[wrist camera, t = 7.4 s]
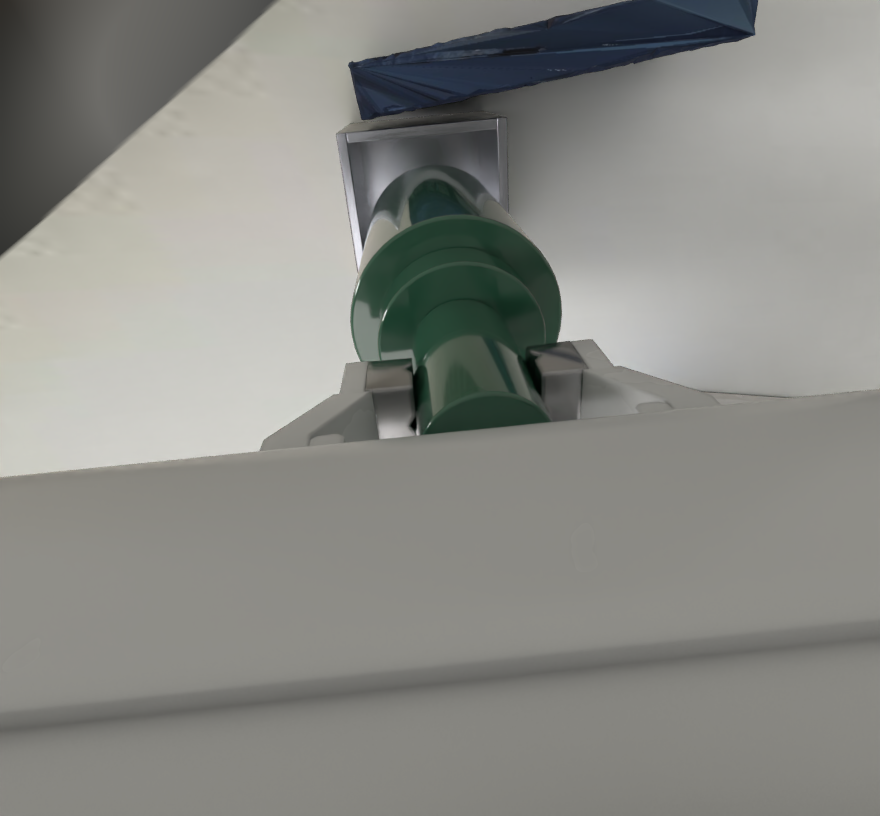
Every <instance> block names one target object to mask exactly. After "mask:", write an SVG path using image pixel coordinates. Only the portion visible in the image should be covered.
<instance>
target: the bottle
mask: <svg viewBox="0 0 880 816" xmlns="http://www.w3.org/2000/svg"><path fill="white" fill-rule="evenodd" d="M561 318H562V305H561V296H560V291H559V286H558V283H557V280H556V277H555V275H554V273H553V271H552V269H551V267H550V265H549V263H548V261H547V260H546V258H545V257H544V256H543V254H542V253H541V251H540V250H539V249H538V248H537V247H536V245H535V244H534V243H533V242H532V241H531V240H530V238H529V237H528V236H527V235H526V234H525V233H524V231H523V230H522V229H521V228H520V227H519V226H518V224H517V223H516V222H515V221H514V220H513V219H512V217H511V216H510V215H509V214H508V213H507V212H506V210H505V209H504V208H503V207H502V206H501V205H500V203H499V202H498V201H497V200H496V199H495V198H494V196H493V195H492V194H491V193H490V192H489V191H488V189H487V188H486V187H485V186H484V185H483V184H482V183H481V182H480V181H479V180H478V179H476V178H475V177H474V176H472V175H471V174H469V173H467V172H465V171H463V170H461V169H458V168H455V167H452V166H447V165H426V166H420V167H417V168H414V169H411V170H409V171H407V172H405V173H403V174H402V175H400V176H399V177H397V178H396V179H394V180H393V181H392V182H391V183H390V184H389V185H388V186H387V187H386V188H385V189H384V191H383V192H382V193H381V195H380V197H379V198H378V200H377V202H376V204H375V206H374V208H373V211H372V215H371V218H370V223H369V227H368V232H367V236H366V240H365V245H364V249H363V254H362V258H361V263H360V267H359V272H358V276H357V281H356V285H355V289H354V294H353V299H352V305H351V317H350V323H351V334H352V338H353V342H354V347H355V349H356V352H357V354H358V357H359V359H360V361H361V362H362V361H368V362H370V361H382V360H394V359H406V358H412V364H413V371H414V383H415V390H414V392H415V404H416V436H417V435H427V434H437V433H447V432H457V431H467V430H477V429H486V428H496V427H506V426H516V425H526V424H536V423H546V422H552V419H551V417H550V415H549V413H548V411H547V408H546V406H545V404H544V402H543V400H542V397H541V395H540V393H539V391H538V389H537V387H536V384H535V382H534V380H533V378H532V376H531V373H530V371H529V369H528V367H527V365H526V362H525V349H526V347H527V346H532V345H541V344H549V343H557V340H558V336H559V332H560V327H561Z"/></svg>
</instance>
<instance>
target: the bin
mask: <svg viewBox="0 0 880 816" xmlns="http://www.w3.org/2000/svg"><path fill="white" fill-rule="evenodd" d="M336 138H337V144H338V150H339V157H340V163H341V170H342V176H343V182H344V189H345V195H346V201H347V208H348V214H349V221H350V227H351V233H352V240H353V246H354V252H355V259H356V265H357V271H358V272H359V267H360V263H361V258H362V254H363V249H364V245H365V240H366V236H367V232H368V227H369V223H370V218H371V215H372V211H373V208H374V206H375V204H376V202H377V200H378V198H379V197H380V195H381V193H382V192H383V191H384V189H385V188H386V187H387V186H388V185H389V184H390V183H391V182H392V181H393V180H394V179H396V178H397V177H399V176H400V175H402V174H403V173H405V172H407V171H409V170H411V169H414V168H417V167H420V166H426V165H447V166H452V167H455V168H458V169H461V170H463V171H465V172H467V173H469V174H471V175H472V176H474V177H475V178H476V179H478V180H479V181H480V182H481V183H482V184H483V185H484V186H485V187H486V188H487V189H488V191H489V192H490V193H491V194H492V195H493V196H494V198H495V199H496V200H497V201H498V202H499V203H500V205H501V206H502V207H503V208H504V209H505V210H506V212H507V213H508V214H509V195H508V146H507V117H504V116H500V115H497V114H493V113H489V112H486V111H476V112H465V113H455V114H444V115H434V116H424V117H413V118H403V119H392V120H382V121H371V122H361V123H350V124H348V125H347V126H346V127H344V128H343V129H342V130H340V131H339V132H338V133H336Z"/></svg>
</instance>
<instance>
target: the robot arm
mask: <svg viewBox="0 0 880 816" xmlns="http://www.w3.org/2000/svg"><path fill="white" fill-rule="evenodd" d="M525 362H526V365H527V367H528V369H529V371H530V373H531V376H532V378H533V380H534V382H535V384H536V387H537V389H538V391H539V393H540V395H541V397H542V400H543V402H544V404H545V406H546V408H547V411H548V413H549V415H550V417H551V419H552V422H546V423H536V424H526V425H516V426H506V427H496V428H486V429H477V430H467V431H457V432H447V433H437V434H427V435H417V436H416V404H415V392H414V390H415V383H414V371H413V364H412V358H406V359H394V360H382V361H370V362H368V361H362V362H354V363H346V365H345V369H344V373H343V378H342V383H341V388H340V393H339V394H335V395H332V396H331V397H329V398H327V399H326V400H324V401H323V402H321V403H320V404H318V405H317V406H315V407H314V408H312V409H311V410H309V411H307V412H306V413H304V414H303V415H301V416H300V417H298V418H297V419H295V420H294V421H292V422H291V423H289V424H288V425H286V426H284V427H283V428H281V429H280V430H278V431H277V432H275V433H274V434H272V435H271V436H269V437H268V438H266V439H264V441H263V443H262V446H261V448H260V451H258V452H248V453H238V454H228V455H218V456H208V457H198V458H188V459H178V460H168V461H158V462H148V463H138V464H128V465H118V466H108V467H98V468H88V469H78V470H68V471H58V472H48V473H38V474H28V475H18V476H8V477H0V816H880V389H874V390H864V391H854V392H844V393H834V394H825V395H815V396H805V397H795V398H781V397H767V396H753V395H739V394H726V393H712V392H700V391H697V390H694V389H691V388H688V387H684V386H681V385H678V384H675V383H672V382H669V381H666V380H663V379H659V378H656V377H653V376H650V375H647V374H644V373H641V372H638V371H634V370H631V369H628V368H625V367H622V366H617V367H614V366H613V364H612V363H611V362H610V361H609V359H608V358H607V357H606V356H605V354H604V353H603V352H602V351H601V349H600V348H599V347H598V346H597V344H596V343H595V342H594V341H593V340H592V339H586V340H579V341H571V342H570V341H565V342H557V343H549V344H541V345H532V346H527V347H526V349H525Z"/></svg>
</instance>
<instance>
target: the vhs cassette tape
mask: <svg viewBox="0 0 880 816" xmlns="http://www.w3.org/2000/svg"><path fill="white" fill-rule="evenodd" d="M757 5H758V0H631V1H625V2H620V3H616V4H612V5H608V6H604V7H599V8H594V9H589V10H585V11H581V12H577V13H573V14H569V15H562V16H556V17H553V18H551V19H548V20H545V21H540V22H536V23H532V24H528V25H523V26H518V27H514V28H501V29H495V30H493V31H491V32H486V33H482V34H479V35H474V36H469V37H463V38H459V39H455V40H451V41H449V42H446V43H436V44H434V45H432V46H428V47H423V48H417V49H415V50H411V51H407V52H400V53H395V54H392V55H390V56H383V57H377V58H371V59H365V60H363V61H359V62H353V61H352V62H350V63H349V65H348V66H349V68H350V71H351V75H352V80H353V85H354V89H355V94H356V98H357V102H358V106H359V110H360V115H361V119H362V120H370V119H374V118H376V117H380V116H387V115H394V114H400V113H402V112H404V111H414V110H416V109H419V108H426V107H432V106H436V105H441V104H446V103H452V102H457V101H463V100H465V99H467V98H470V97H474V96H478V95H483V94H488V93H498V92H502V91H507V90H512V89H516V88H520V87H525V86H533V85H536V84H539V83H544V82H549V81H553V80H558V79H563V78H568V77H573V76H577V75H581V74H585V73H590V72H597V71H603V70H607V69H610V68H613V67H618V66H625V65H628V64H630V63H634V64H635V63H639V62H642V61H646V60H650V59H653V58H657V57H662V56H666V55H672V54H675V53H679V52H684V51H693V50H696V49H700V48H703V47H710V46H715V45H718V44H722V43H728V42H737V41H739V40H742V39H745V38H748V37H750V36H754V35H755V28H754V24H755V18H756V12H757Z"/></svg>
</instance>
